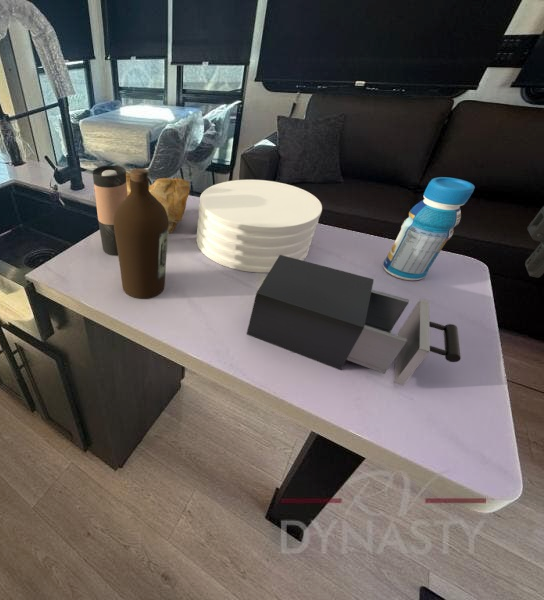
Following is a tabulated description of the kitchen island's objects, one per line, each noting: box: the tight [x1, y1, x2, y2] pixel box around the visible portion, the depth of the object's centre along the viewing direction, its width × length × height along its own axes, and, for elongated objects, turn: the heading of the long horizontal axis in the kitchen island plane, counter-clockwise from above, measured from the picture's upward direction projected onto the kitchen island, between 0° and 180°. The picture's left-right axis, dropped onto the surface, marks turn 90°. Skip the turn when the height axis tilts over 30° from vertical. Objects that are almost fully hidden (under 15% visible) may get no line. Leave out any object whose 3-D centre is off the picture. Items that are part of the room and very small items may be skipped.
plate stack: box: [196, 179, 323, 273], centre depth 82 cm, size 28×28×12 cm
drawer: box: [346, 289, 461, 387], centre depth 53 cm, size 19×13×8 cm, turn 57°
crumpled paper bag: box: [126, 171, 191, 234], centre depth 93 cm, size 23×17×15 cm
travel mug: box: [92, 164, 128, 256], centre depth 79 cm, size 8×8×20 cm
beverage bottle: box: [382, 176, 476, 281], centre depth 68 cm, size 8×8×20 cm
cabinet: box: [246, 255, 375, 371], centre depth 58 cm, size 16×14×10 cm
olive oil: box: [114, 168, 169, 300], centre depth 65 cm, size 11×11×25 cm
